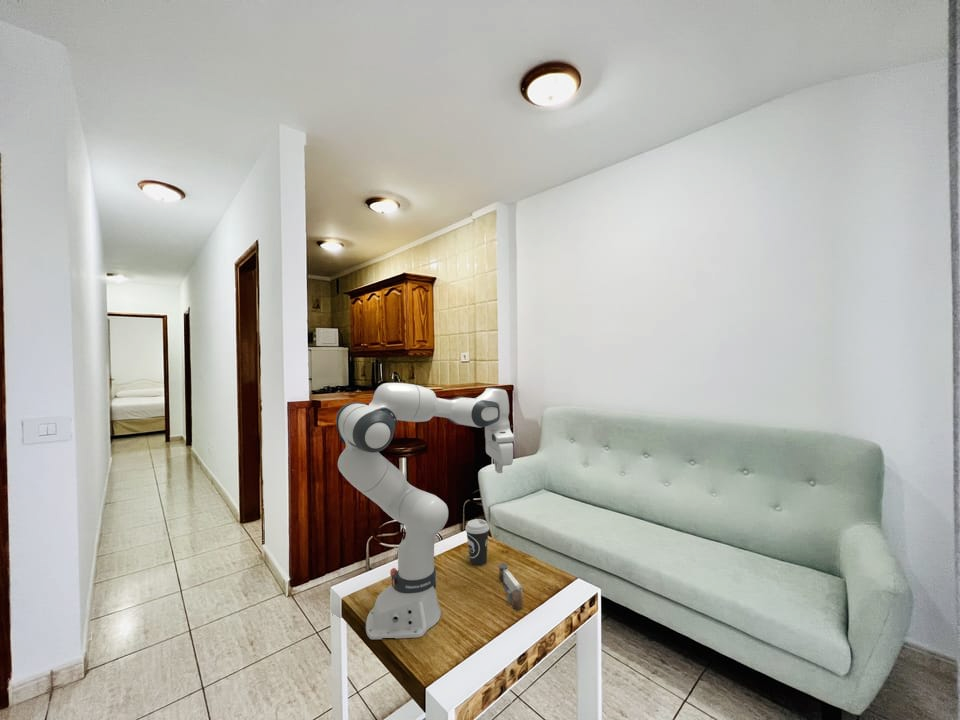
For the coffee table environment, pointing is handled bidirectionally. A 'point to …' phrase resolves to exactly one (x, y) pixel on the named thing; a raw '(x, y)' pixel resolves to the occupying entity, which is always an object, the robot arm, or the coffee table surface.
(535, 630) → the coffee table surface
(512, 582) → the white long block
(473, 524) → the coffee cup
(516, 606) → the brown rounded cylinder
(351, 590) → the coffee table surface
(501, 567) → the hinge post
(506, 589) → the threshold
